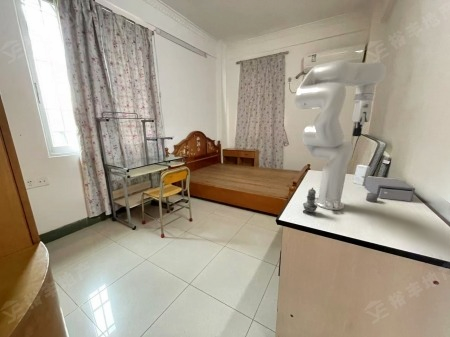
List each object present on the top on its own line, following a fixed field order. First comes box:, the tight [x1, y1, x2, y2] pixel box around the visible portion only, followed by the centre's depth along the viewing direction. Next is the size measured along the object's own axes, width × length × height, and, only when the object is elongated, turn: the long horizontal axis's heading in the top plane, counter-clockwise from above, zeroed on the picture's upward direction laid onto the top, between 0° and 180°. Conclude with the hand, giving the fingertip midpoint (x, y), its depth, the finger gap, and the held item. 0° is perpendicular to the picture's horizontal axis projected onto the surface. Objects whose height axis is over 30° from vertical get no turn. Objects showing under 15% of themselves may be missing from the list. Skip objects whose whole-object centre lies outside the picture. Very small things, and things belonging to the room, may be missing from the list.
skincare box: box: [352, 164, 371, 186], centre depth 119 cm, size 6×4×12 cm
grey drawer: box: [379, 187, 413, 202], centre depth 103 cm, size 16×13×5 cm
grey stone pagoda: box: [302, 187, 318, 217], centre depth 81 cm, size 6×6×12 cm
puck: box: [365, 192, 378, 203], centre depth 95 cm, size 4×4×4 cm
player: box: [364, 176, 416, 202], centre depth 104 cm, size 16×15×7 cm
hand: (356, 136), depth 96 cm, fingers closed
